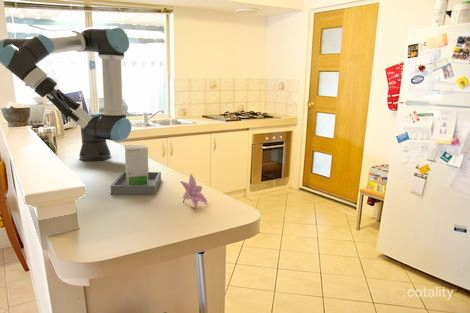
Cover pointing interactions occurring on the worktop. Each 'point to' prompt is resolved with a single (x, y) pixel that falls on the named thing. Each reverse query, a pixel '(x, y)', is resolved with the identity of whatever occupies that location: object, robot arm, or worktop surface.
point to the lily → (193, 192)
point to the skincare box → (136, 164)
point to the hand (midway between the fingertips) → (88, 123)
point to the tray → (123, 189)
